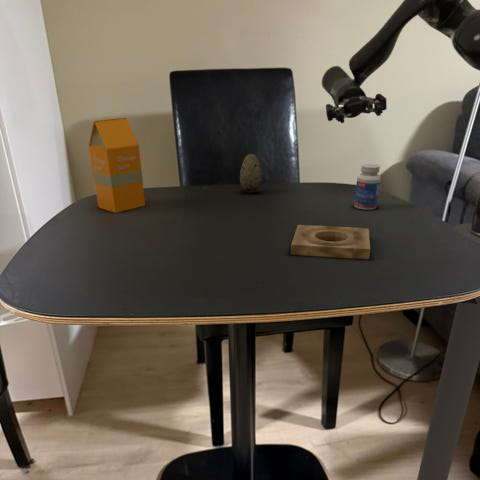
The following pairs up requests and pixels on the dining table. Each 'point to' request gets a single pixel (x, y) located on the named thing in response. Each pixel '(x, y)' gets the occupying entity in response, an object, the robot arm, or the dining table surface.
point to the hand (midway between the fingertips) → (360, 115)
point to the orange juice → (116, 165)
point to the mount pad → (316, 244)
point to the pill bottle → (367, 187)
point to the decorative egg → (250, 174)
